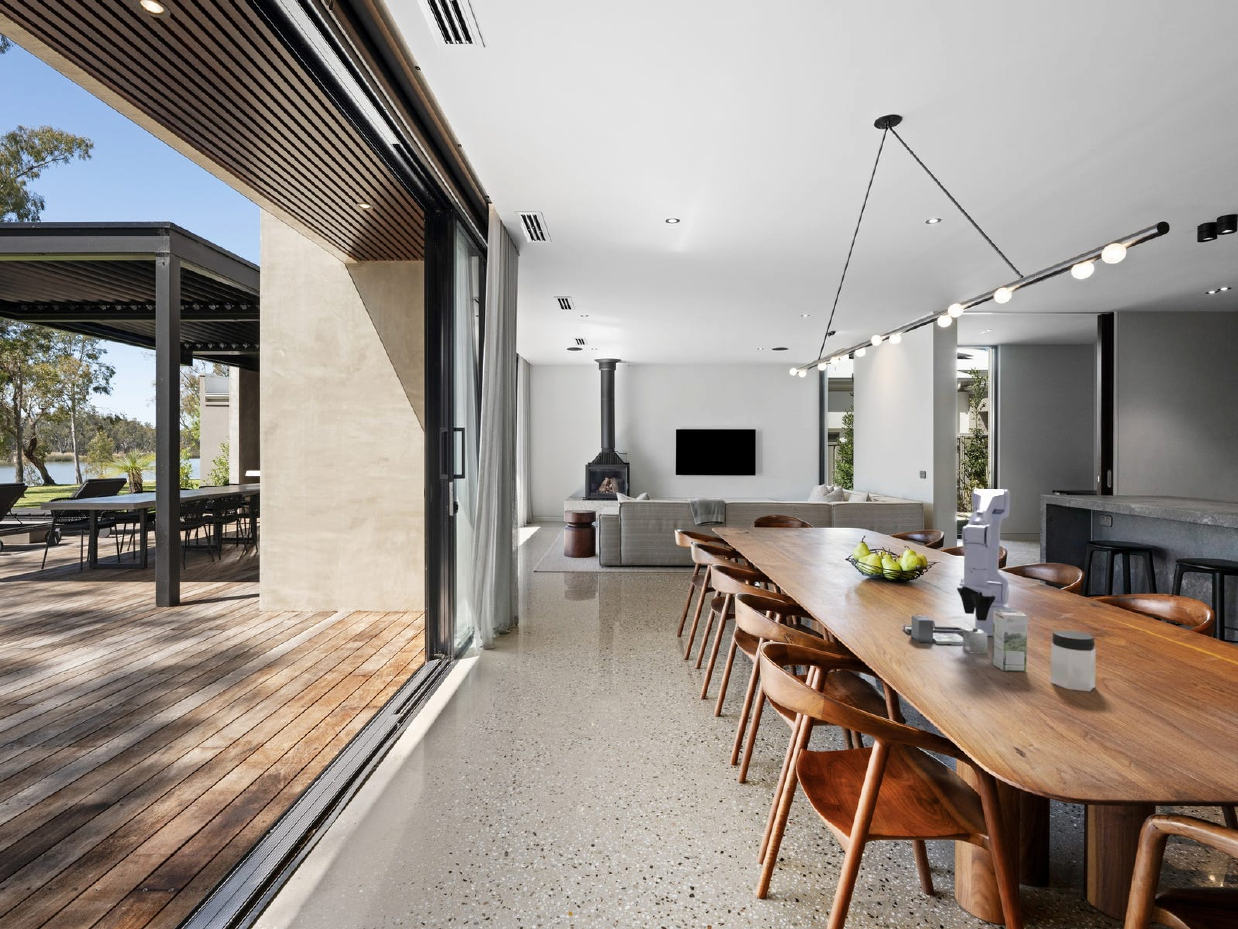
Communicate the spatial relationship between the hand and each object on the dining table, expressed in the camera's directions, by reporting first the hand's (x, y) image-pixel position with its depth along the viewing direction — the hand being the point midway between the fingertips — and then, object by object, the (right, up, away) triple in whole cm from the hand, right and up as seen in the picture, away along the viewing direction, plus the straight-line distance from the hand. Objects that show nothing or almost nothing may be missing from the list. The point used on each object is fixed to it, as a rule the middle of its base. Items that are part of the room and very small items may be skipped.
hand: (975, 616), depth 179 cm
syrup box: (0, -10, -15) cm, 18 cm away
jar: (+8, -10, -27) cm, 30 cm away
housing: (0, -10, 0) cm, 10 cm away
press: (-3, -9, +12) cm, 16 cm away
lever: (-7, -9, +18) cm, 21 cm away
